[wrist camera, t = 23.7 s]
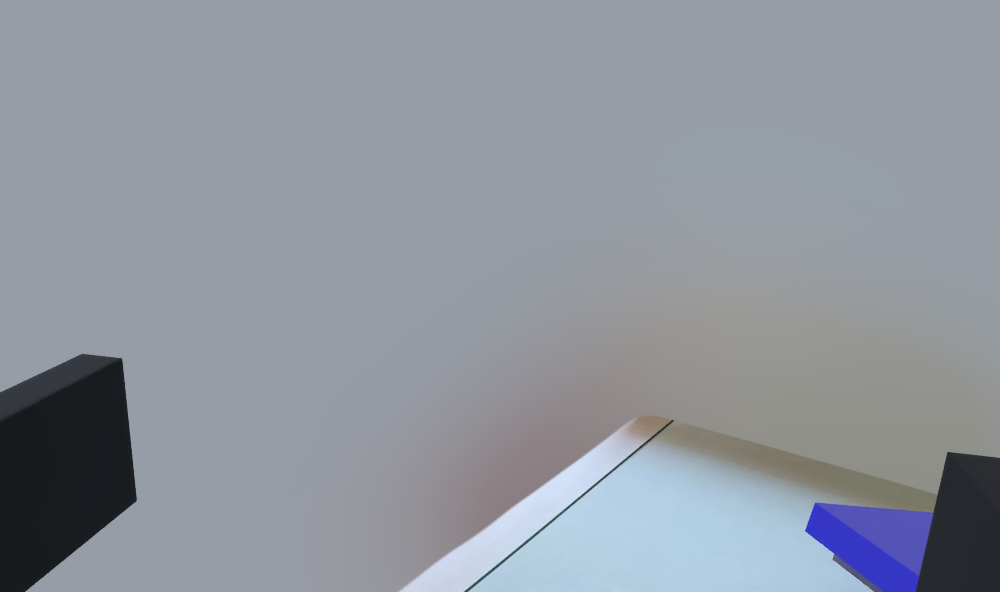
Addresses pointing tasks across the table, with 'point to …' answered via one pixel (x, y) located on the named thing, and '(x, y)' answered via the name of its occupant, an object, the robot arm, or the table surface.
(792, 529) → the table surface
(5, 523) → the robot arm
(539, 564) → the table surface
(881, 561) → the stapler
